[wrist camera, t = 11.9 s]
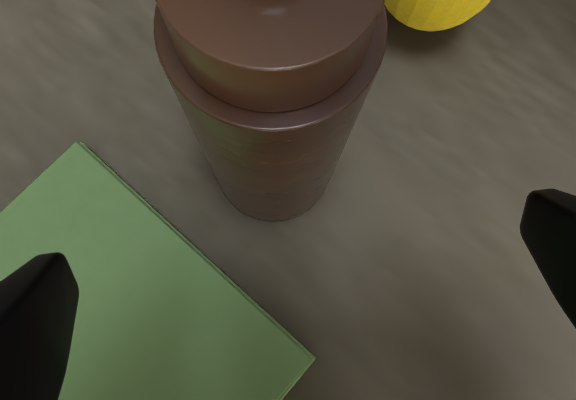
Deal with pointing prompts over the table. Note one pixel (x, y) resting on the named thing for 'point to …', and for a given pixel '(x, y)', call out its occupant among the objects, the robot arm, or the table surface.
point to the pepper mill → (271, 89)
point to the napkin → (144, 296)
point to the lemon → (434, 12)
